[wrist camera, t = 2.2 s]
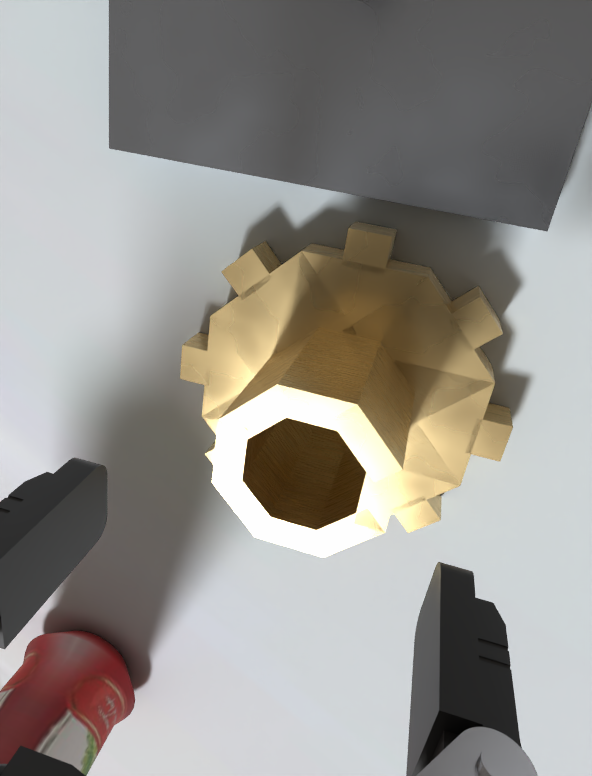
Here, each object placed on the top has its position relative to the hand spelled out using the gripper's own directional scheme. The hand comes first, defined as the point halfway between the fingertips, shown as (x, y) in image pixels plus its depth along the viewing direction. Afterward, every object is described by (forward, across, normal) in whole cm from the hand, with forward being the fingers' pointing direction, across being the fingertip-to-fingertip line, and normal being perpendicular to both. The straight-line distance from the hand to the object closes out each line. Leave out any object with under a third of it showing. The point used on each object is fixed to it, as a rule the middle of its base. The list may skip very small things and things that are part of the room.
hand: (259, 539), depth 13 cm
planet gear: (+9, 0, 0) cm, 9 cm away
